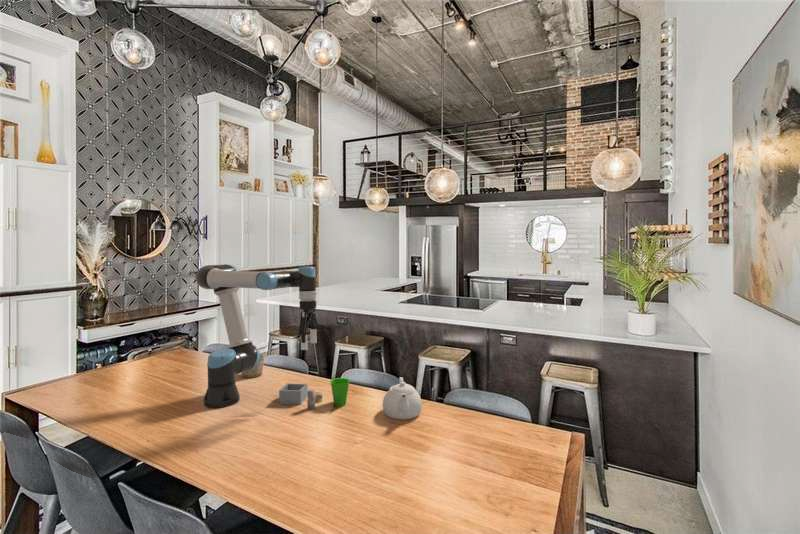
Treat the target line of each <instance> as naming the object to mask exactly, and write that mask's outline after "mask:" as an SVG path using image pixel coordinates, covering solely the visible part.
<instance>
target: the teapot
mask: <svg viewBox="0 0 800 534" xmlns="http://www.w3.org/2000/svg"><path fill="white" fill-rule="evenodd" d="M398 380H399V383H397V384H394V385H392V386H391V387H390V388H389V389H388V390H387V392H386V393H385V395H384V397H383V400H382V411H383V413H384V414H385V416H387V417H388V418H391V419H395V420H400V421H401V420H411V419H414V418H415V419H416V418H417V417H418V416H419V415H420V414H421V412H422V408H423V407H422V406H423V403H422V399H421V395H420V394H419V393H418V391H417V390H416V388H415V387H414V386H412V385H411V384H408V383H406V382H405V381H404V377H401V376H400V377H399V379H398Z"/></svg>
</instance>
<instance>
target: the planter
mask: <svg viewBox="0 0 800 534" xmlns="http://www.w3.org/2000/svg"><path fill="white" fill-rule="evenodd" d="M264 360H265V356H264V355H263V354H260V360H259V362H258V364H257V365H256V366H255V367H254V368H252V369H250V370H248V371H245V372H242V373H241V376H242V377H243V378H245V377H246V378H247V379H253V378H252V377H254V378H258V377H260V375H261V376H262V375H263V370H264Z"/></svg>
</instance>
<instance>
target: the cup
mask: <svg viewBox="0 0 800 534" xmlns="http://www.w3.org/2000/svg"><path fill="white" fill-rule="evenodd" d="M350 382H351V379H349V378H347V377H337V378H331V380H330V381H329V383H330V386H331V392H332V398H333V404H334V406H335V407H338V408H340V407H344V406H345V405H346V403H347V396H348V392H349V385H350Z"/></svg>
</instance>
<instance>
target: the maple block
mask: <svg viewBox="0 0 800 534" xmlns="http://www.w3.org/2000/svg"><path fill="white" fill-rule="evenodd" d="M322 401H323V392H322V391H320V392H316V391H315V403H316V402H322Z"/></svg>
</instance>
